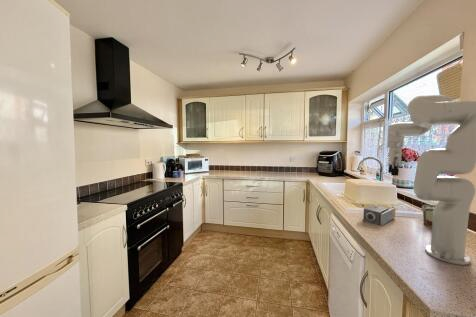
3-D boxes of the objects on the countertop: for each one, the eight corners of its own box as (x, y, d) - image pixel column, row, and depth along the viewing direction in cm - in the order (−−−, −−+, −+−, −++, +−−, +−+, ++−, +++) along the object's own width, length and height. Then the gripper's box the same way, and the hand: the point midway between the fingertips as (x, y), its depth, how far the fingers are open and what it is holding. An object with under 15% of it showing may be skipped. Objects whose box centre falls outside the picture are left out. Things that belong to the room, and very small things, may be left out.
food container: (438, 222, 115) (440, 204, 114) (448, 227, 109) (450, 208, 108) (414, 221, 117) (415, 204, 116) (423, 226, 111) (424, 207, 110)
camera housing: (377, 225, 111) (378, 212, 110) (362, 221, 118) (362, 208, 117) (387, 220, 119) (388, 207, 118) (372, 215, 125) (373, 203, 125)
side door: (381, 225, 110) (382, 214, 110) (379, 225, 111) (380, 213, 111) (395, 218, 121) (395, 207, 121) (393, 217, 122) (393, 206, 121)
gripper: (407, 145, 111) (404, 177, 113) (399, 144, 127) (397, 172, 129) (389, 145, 115) (387, 176, 117) (385, 144, 130) (383, 171, 132)
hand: (392, 173), depth 123 cm, fingers open, 9 cm apart
